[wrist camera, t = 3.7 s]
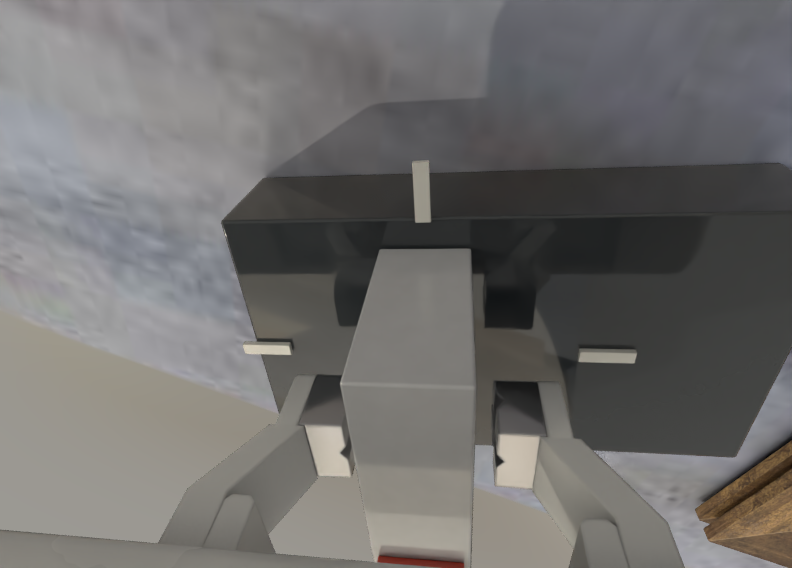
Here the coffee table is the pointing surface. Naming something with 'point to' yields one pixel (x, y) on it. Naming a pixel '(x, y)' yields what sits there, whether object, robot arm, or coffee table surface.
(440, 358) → the tap handle
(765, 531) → the picture frame
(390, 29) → the coffee table surface
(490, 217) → the panel
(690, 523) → the coffee table surface
